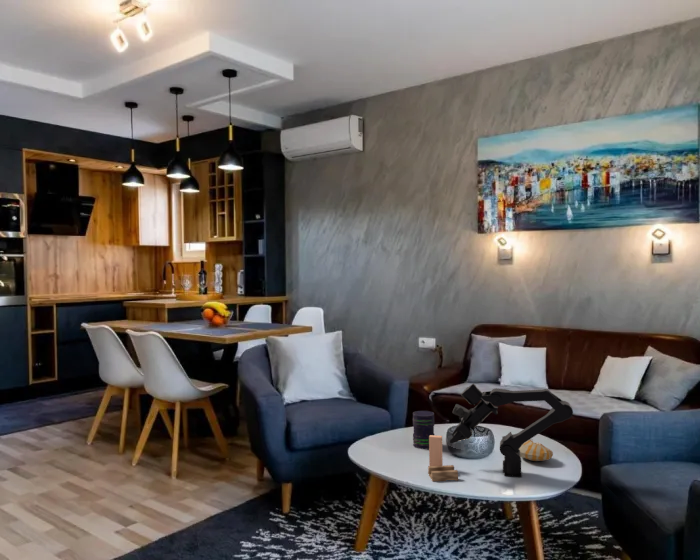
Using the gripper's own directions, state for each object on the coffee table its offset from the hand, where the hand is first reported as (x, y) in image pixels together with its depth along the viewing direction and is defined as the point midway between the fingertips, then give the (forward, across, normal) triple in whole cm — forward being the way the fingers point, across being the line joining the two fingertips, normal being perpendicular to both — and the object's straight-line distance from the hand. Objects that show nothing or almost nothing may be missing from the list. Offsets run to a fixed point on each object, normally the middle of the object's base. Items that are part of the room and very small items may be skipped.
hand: (451, 438), depth 229 cm
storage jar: (+20, -28, -2) cm, 34 cm away
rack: (+10, +9, +7) cm, 16 cm away
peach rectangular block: (+13, 0, +4) cm, 14 cm away
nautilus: (-14, -22, +32) cm, 41 cm away
